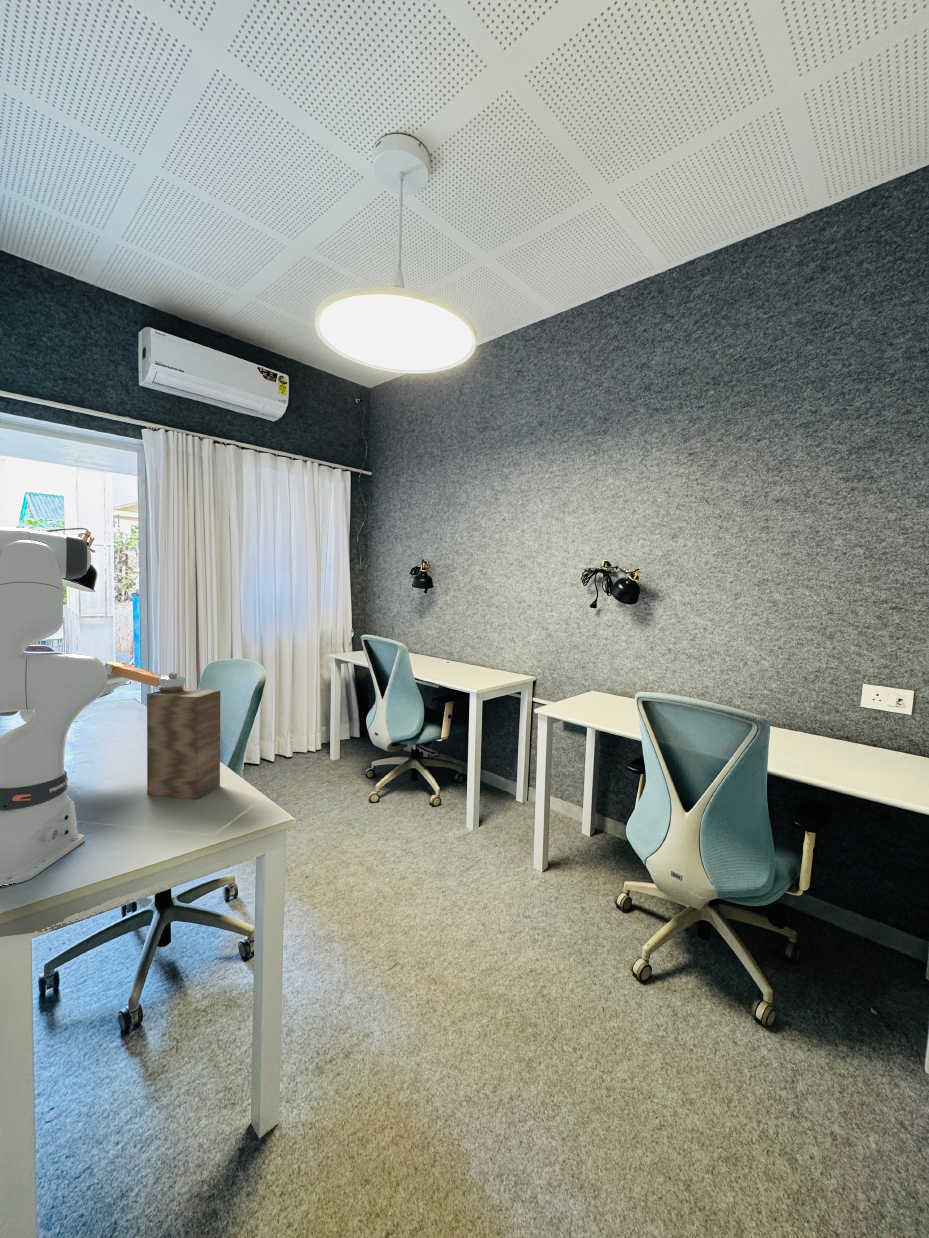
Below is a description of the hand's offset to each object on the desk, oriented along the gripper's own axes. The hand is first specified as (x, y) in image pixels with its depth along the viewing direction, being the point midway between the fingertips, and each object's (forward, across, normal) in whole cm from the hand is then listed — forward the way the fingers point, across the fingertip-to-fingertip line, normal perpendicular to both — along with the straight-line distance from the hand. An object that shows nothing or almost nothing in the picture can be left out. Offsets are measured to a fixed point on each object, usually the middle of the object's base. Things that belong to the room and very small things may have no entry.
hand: (118, 666), depth 131 cm
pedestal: (+1, 0, +37) cm, 37 cm away
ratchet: (+5, 0, +7) cm, 8 cm away
